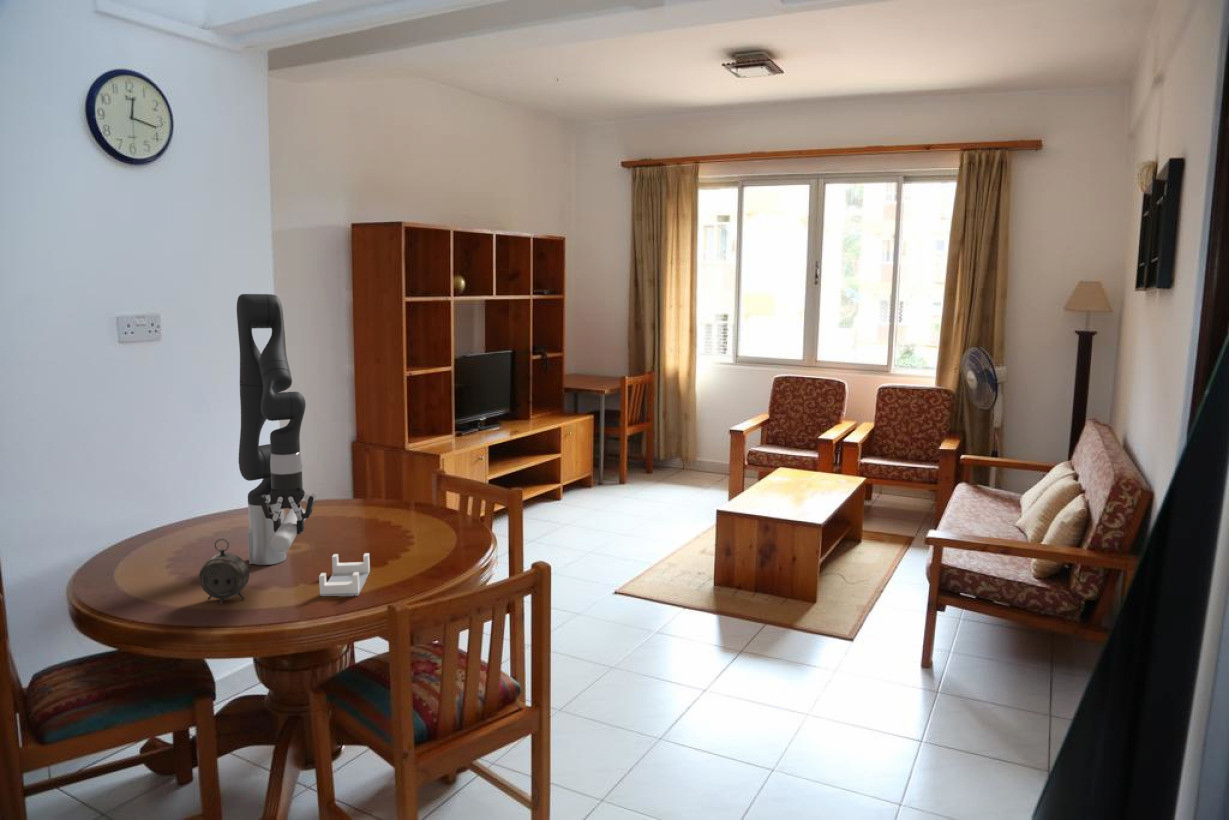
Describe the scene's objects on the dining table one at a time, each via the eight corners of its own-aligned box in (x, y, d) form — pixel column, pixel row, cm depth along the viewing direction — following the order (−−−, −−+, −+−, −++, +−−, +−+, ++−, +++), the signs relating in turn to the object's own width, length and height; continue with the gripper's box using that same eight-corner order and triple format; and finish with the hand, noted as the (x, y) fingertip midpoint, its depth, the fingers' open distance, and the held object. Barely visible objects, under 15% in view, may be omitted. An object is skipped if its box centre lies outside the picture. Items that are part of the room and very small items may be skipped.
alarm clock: (251, 597, 219) (247, 535, 217) (243, 605, 214) (239, 542, 211) (207, 597, 219) (203, 535, 216) (198, 605, 214) (193, 542, 211)
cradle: (320, 597, 220) (319, 576, 219) (334, 573, 237) (333, 554, 236) (358, 595, 220) (357, 575, 220) (370, 572, 238) (369, 553, 237)
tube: (293, 538, 213) (309, 509, 238) (271, 532, 212) (289, 503, 236) (287, 558, 214) (304, 527, 238) (265, 552, 213) (284, 521, 237)
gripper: (252, 473, 218) (256, 538, 221) (311, 472, 219) (314, 537, 222) (261, 466, 225) (265, 529, 228) (318, 465, 227) (321, 528, 229)
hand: (289, 533), depth 225 cm, fingers closed on tube, 4 cm apart
